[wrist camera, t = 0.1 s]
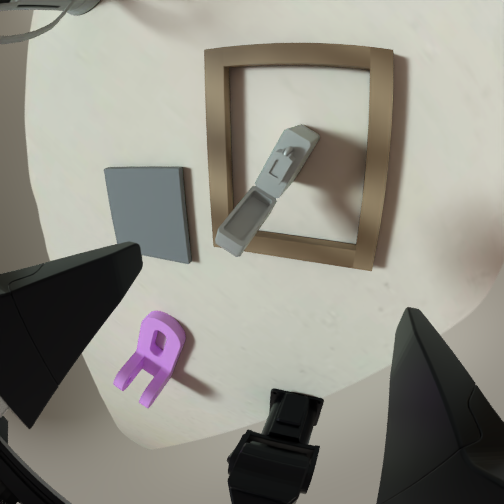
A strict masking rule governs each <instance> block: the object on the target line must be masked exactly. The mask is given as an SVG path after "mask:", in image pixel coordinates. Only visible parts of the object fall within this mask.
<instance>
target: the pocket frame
mask: <svg viewBox="0 0 504 504" xmlns="http://www.w3.org/2000/svg"><path fill="white" fill-rule="evenodd" d="M204 61H205V101H206V128H207V150H208V170H209V187H210V203H211V218H212V232H213V245H214V247H220V246H219V245H217V244H216V242H215V238H216V235H217V231H218V228H219V227H220V226H221V224H222V223H223V222H224V221H225V219H226V218H227V217H228V216H229V214H230V213H231V212H232V211H233V191H232V162H231V128H230V85H229V67H243V66H264V65H313V66H333V67H347V68H358V69H367V70H370V100H369V125H368V142H367V156H366V168H365V178H364V188H363V197H362V206H361V214H360V221H359V229H358V236H357V242H356V245H354V244H347V243H340V242H334V241H327V240H320V239H313V238H306V237H299V236H292V235H284V234H277V233H270V232H262V231H257V233H256V234H255V236H254V237H253V238H252V240H251V241H250V243H249V244H248V246H247V247H246V248H245V250H244V251H245V252H252V253H258V254H265V255H271V256H277V257H284V258H290V259H297V260H303V261H310V262H316V263H322V264H329V265H335V266H342V267H348V268H355V269H361V270H367V271H372V267H373V262H374V257H375V252H376V247H377V241H378V236H379V230H380V224H381V217H382V211H383V204H384V197H385V189H386V181H387V173H388V163H389V153H390V141H391V127H392V108H393V50H390V49H383V48H375V47H366V46H356V45H343V44H326V43H272V44H254V45H241V46H231V47H222V48H214V49H206V50H204ZM220 248H222V247H220Z"/></svg>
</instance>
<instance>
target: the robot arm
mask: <svg viewBox="0 0 504 504" xmlns="http://www.w3.org/2000/svg"><path fill="white" fill-rule="evenodd" d="M142 266H143V262H142V255H141V248H140V245H139V244H138V243H135V242H131V241H128V242H123V243H119V244H115V245H111V246H107V247H103V248H99V249H95V250H91V251H88V252H84V253H80V254H76V255H72V256H68V257H65V258H61V259H57V260H53V261H50V262H46V263H45V264H44V263H42V264H39V265H36V266H32V267H28V268H24V269H20V270H16V271H11V272H7V273H3V274H0V504H16V503H17V502H19V503H20V504H71V503H70V502H69V501H68V500H66V499H65V498H64V497H63V496H61V495H60V494H59V493H58V492H57V491H55V490H54V489H53V488H52V487H51V486H49V485H48V484H47V483H46V482H45V481H44V480H43V479H42V478H41V477H39V476H38V475H37V474H36V473H35V472H34V471H33V470H32V469H31V468H30V467H29V466H28V465H27V464H26V463H25V462H24V461H23V460H22V459H21V458H20V457H19V456H18V455H17V454H16V453H15V452H14V451H13V450H12V449H11V447H10V446H9V445H8V421H7V420H6V418H5V417H4V416H3V414H4V413H5V412H6V411H7V410H8V409H10V410H11V411H12V412H13V413H14V415H15V416H16V417H17V418H18V419H19V420H21V422H22V423H23V424H24V425H26V427H28V429H30V428H31V427H32V426H33V425H34V423H35V421H36V420H37V418H38V417H39V415H40V414H41V412H42V411H43V409H44V407H45V406H46V404H47V403H48V401H49V400H50V398H51V397H52V395H53V394H54V392H55V391H56V389H57V388H58V385H60V383H61V382H62V380H63V379H64V377H65V376H66V375H67V373H68V372H69V370H70V369H71V367H72V366H73V364H74V363H75V362H76V360H77V359H78V357H79V356H80V355H81V353H82V352H83V351H84V349H85V348H86V346H87V345H88V344H89V342H90V341H91V340H92V338H93V337H94V336H95V334H96V333H97V332H98V330H99V329H100V328H101V326H102V325H103V324H104V322H105V321H106V320H107V318H108V317H109V316H110V315H111V313H112V312H113V311H114V309H115V308H116V307H117V306H118V304H119V303H120V302H121V300H122V299H123V297H124V296H125V294H126V293H127V291H128V289H129V288H130V286H131V285H132V283H133V282H134V280H135V279H136V277H137V276H138V274H139V273H140V271H141V269H142ZM323 402H324V400H323V399H322V398H317V397H312V396H307V395H302V394H297V393H293V392H288V391H284V390H279V389H272V390H271V397H270V413H269V416H268V418H267V421H266V423H265V426H264V428H263V431H262V433H261V434H260V433H256V432H253V431H251V430H247V432H246V433H245V434H244V435H242V438H241V440H240V442H239V443H238V445H237V446H236V448H235V449H234V451H233V452H232V453H231V454H230V455H229V456H228V458H227V462H228V463H229V468H228V474H229V475H230V476H229V478H228V486H229V492H230V497H231V502H232V504H295V503H296V501H297V499H298V497H299V494H300V493H303V494H306V493H307V490H308V487H309V485H310V482H311V479H312V476H313V472H314V469H315V465H316V461H317V456H318V453H319V448H320V446H312V445H308V443H309V440H310V436H311V433H312V429H313V426H316V425H317V422H318V419H319V415H320V412H321V409H322V406H323ZM376 504H504V422H503V421H502V420H501V418H500V417H499V416H498V414H497V413H496V412H495V410H494V409H493V408H492V406H491V405H490V403H489V402H488V401H487V399H486V398H485V397H484V395H483V393H482V392H481V391H480V389H479V388H478V386H477V385H475V382H474V381H473V379H472V378H471V376H470V375H469V373H468V372H467V371H466V369H465V368H464V366H463V365H462V364H461V362H460V361H459V360H458V358H457V357H456V356H455V354H454V353H453V351H452V350H451V349H450V348H449V346H448V345H447V344H446V342H445V341H444V340H443V338H442V337H441V336H440V334H439V333H438V332H437V331H436V329H435V328H434V327H433V326H432V324H431V323H430V322H429V321H428V319H427V318H426V317H425V316H424V314H423V313H422V312H421V311H420V310H419V309H416V308H411V307H407V308H406V309H405V311H404V313H403V316H402V318H401V320H400V322H399V325H398V327H397V330H396V334H395V343H394V351H393V359H392V367H391V374H390V388H389V408H388V423H387V434H386V444H385V452H384V460H383V468H382V474H381V481H380V487H379V493H378V498H377V503H376Z"/></svg>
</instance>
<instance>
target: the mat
mask: <svg viewBox="0 0 504 504" xmlns="http://www.w3.org/2000/svg"><path fill="white" fill-rule="evenodd" d="M104 173H105V180H106V186H107V192H108V198H109V204H110V210H111V215H112V220H113V225H114V230H115V235H116V240H117V244H119V243H123V242H128V241H131V242H135V243H138V244H139V245H140V248H141V255H145V256H150V257H155V258H160V259H165V260H170V261H175V262H180V263H186V264H189V263H190V262H191V261H192V259H191V251H190V242H189V233H188V224H187V214H186V204H185V194H184V182H183V170H182V167H108V168H105V169H104Z"/></svg>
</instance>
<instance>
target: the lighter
mask: <svg viewBox="0 0 504 504" xmlns="http://www.w3.org/2000/svg"><path fill="white" fill-rule="evenodd" d="M319 138H320V137H319V134H317V133H315V132H314V131H312V130H310V129H309V128H307V127H305V126H304V125H302V124H301V125H297V126H294V127H291V128H288V129H286V130H284V131H283V133H282V135H281V137H280V138H279V140H278V142H277V144H276V146H275V147H274V149H273V151H272V153H271V155H270V156H269V158H268V160H267V162H266V164H265V165H264V167H263V169H262V171H261V173H260V174H259V176H258V178H257V180H256V182H255V184H256V186H252V188H251V189H250V190H249V191H248V192H247V194H246V195H245V196H244V197H243V199H242V200H241V201H240V202H239V203H238V205H237V206H236V207H235V208H234V210H233V211H232V212H231V213H230V214H229V216H228V217H227V218H226V219H225V221H224V222H223V223H222V224H221V226H220V227H219V228H218V231H217V235H216V238H215V242H216V244H217V245H219V246H220V247H222V248H223V249H225V250H226V251H228V252H230V253H231V254H233V255H234V256H236V257H238V256H241V254H242V253H243V251H244V250H245V248H246V247H247V246H248V244H249V243H250V241H251V240H252V238H253V237H254V236H255V234H256V233H257V231H258V230H259V229H260V227H261V226H262V224H263V223H264V221H265V220H266V219H267V217H268V216H269V214H270V213H271V211H272V209H273V207H274V205H275V204H276V202H277V201H276V198H279V197H280V196H281V195H282V194H283V193H284V191H285V190H286V189H287V188H288V187H289V186H290V185H291V183H292V182H293V181H294V180H295V178H296V176H297V175H298V173H299V171H300V170H301V168H302V166H303V165H304V163H305V161H306V160H307V158H308V157H309V155H310V153H311V152H312V150H313V148H314V147H315V145H316V143H317V142H318V140H319Z"/></svg>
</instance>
